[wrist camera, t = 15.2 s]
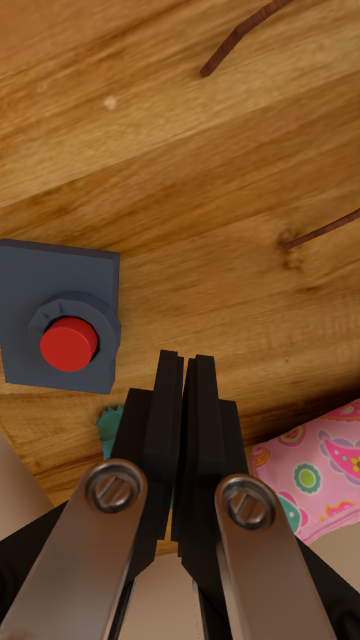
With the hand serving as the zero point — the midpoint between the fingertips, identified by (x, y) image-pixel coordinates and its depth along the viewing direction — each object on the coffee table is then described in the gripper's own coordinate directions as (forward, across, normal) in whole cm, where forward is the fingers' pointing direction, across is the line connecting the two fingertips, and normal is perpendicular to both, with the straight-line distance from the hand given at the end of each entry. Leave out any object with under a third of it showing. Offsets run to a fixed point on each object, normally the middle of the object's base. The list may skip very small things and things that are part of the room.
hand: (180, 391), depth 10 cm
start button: (+13, +8, +6) cm, 16 cm away
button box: (+16, +10, +6) cm, 20 cm away
